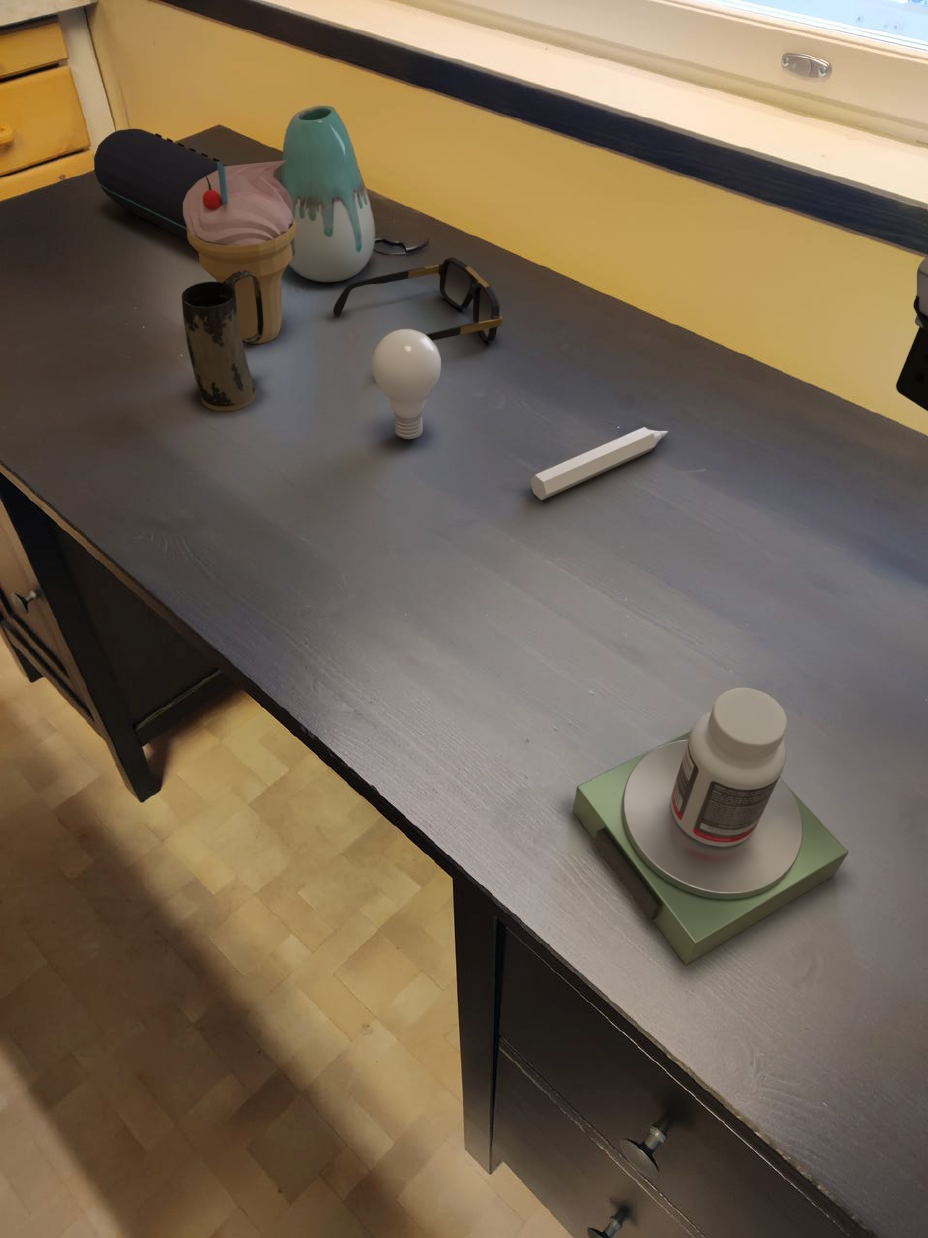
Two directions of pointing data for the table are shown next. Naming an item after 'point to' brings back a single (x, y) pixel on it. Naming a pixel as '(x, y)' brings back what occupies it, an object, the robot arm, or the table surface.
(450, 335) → the sunglasses
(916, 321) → the robot arm
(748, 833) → the pill bottle
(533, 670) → the table surface
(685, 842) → the pan
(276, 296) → the ice cream cone
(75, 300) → the table surface
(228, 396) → the mug
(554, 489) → the white pencil
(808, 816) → the scale
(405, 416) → the lightbulb
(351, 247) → the vase
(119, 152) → the portable speaker
